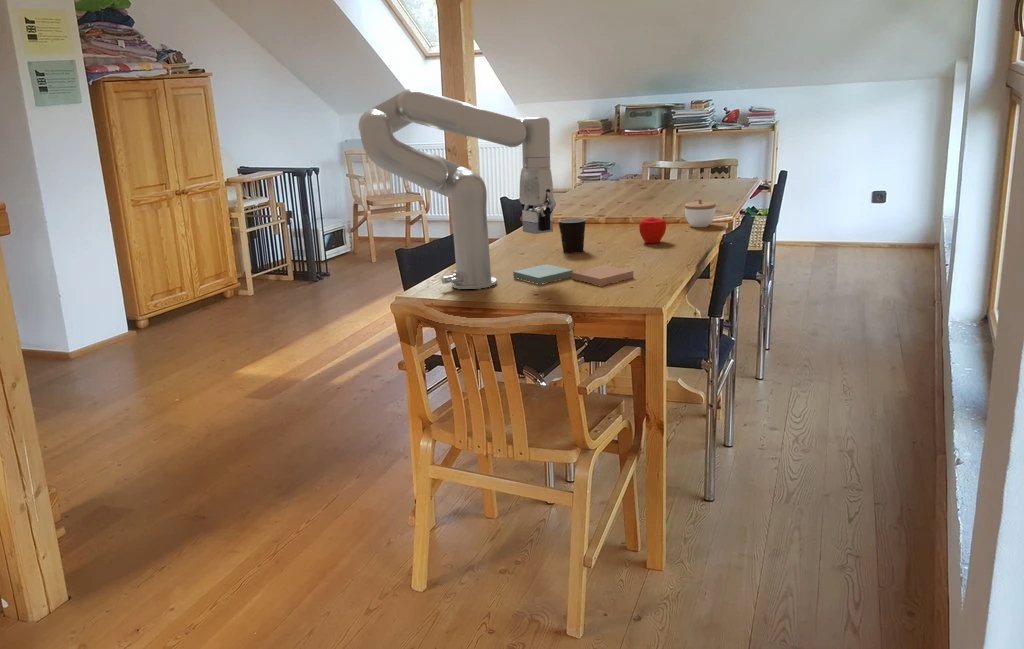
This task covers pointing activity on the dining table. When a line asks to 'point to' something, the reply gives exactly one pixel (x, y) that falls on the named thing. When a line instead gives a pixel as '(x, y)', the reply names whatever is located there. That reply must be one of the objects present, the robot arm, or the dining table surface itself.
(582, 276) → the stand
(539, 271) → the stand
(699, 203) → the lidded jar
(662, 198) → the dining table surface
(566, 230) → the coffee mug
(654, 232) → the apple
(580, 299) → the dining table surface
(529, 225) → the housing
